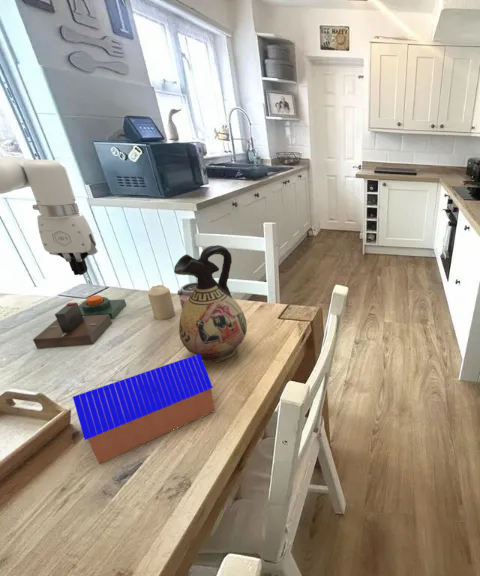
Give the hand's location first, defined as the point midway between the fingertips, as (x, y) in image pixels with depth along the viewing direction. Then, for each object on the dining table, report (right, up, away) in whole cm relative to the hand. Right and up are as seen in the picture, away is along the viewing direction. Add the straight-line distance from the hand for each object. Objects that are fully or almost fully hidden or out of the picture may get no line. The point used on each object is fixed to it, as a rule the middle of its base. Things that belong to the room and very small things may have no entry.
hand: (81, 273), depth 93 cm
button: (0, -9, +5) cm, 10 cm away
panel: (+3, -17, -4) cm, 18 cm away
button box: (0, -12, +6) cm, 14 cm away
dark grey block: (+3, -15, -5) cm, 16 cm away
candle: (+19, -13, +8) cm, 24 cm away
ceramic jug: (+44, -22, -6) cm, 49 cm away
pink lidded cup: (+31, -15, +6) cm, 35 cm away
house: (+41, -31, -26) cm, 58 cm away
